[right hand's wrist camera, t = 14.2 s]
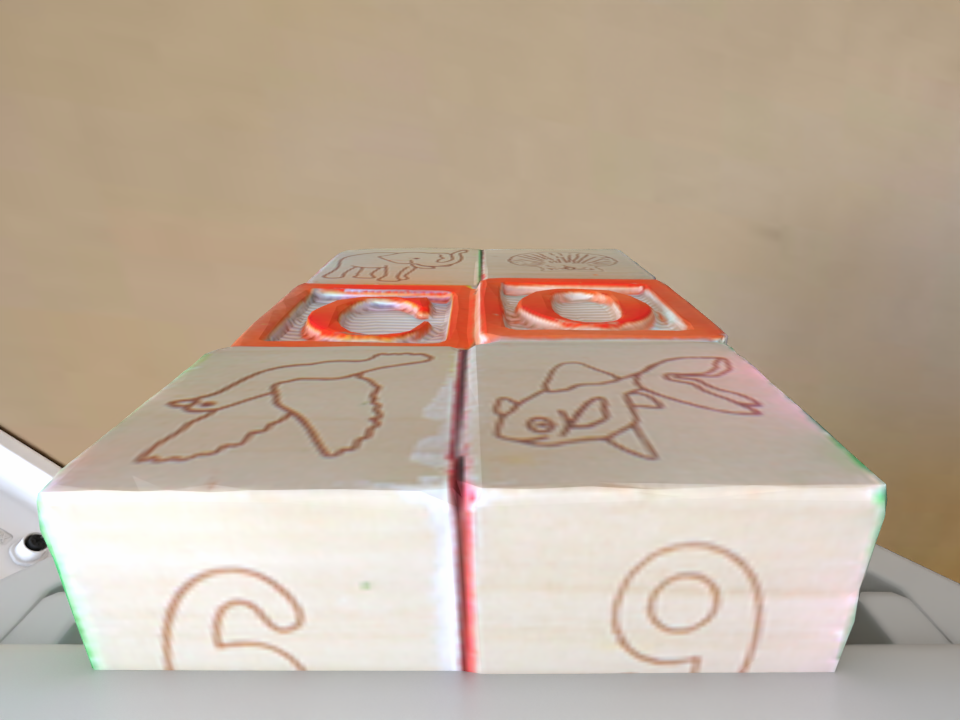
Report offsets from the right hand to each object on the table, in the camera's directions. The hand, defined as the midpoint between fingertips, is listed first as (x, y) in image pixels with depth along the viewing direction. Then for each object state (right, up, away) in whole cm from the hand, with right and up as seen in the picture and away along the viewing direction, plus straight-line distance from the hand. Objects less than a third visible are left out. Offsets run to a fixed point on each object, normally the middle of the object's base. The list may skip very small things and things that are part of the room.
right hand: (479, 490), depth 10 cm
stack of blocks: (0, -5, +6) cm, 8 cm away
